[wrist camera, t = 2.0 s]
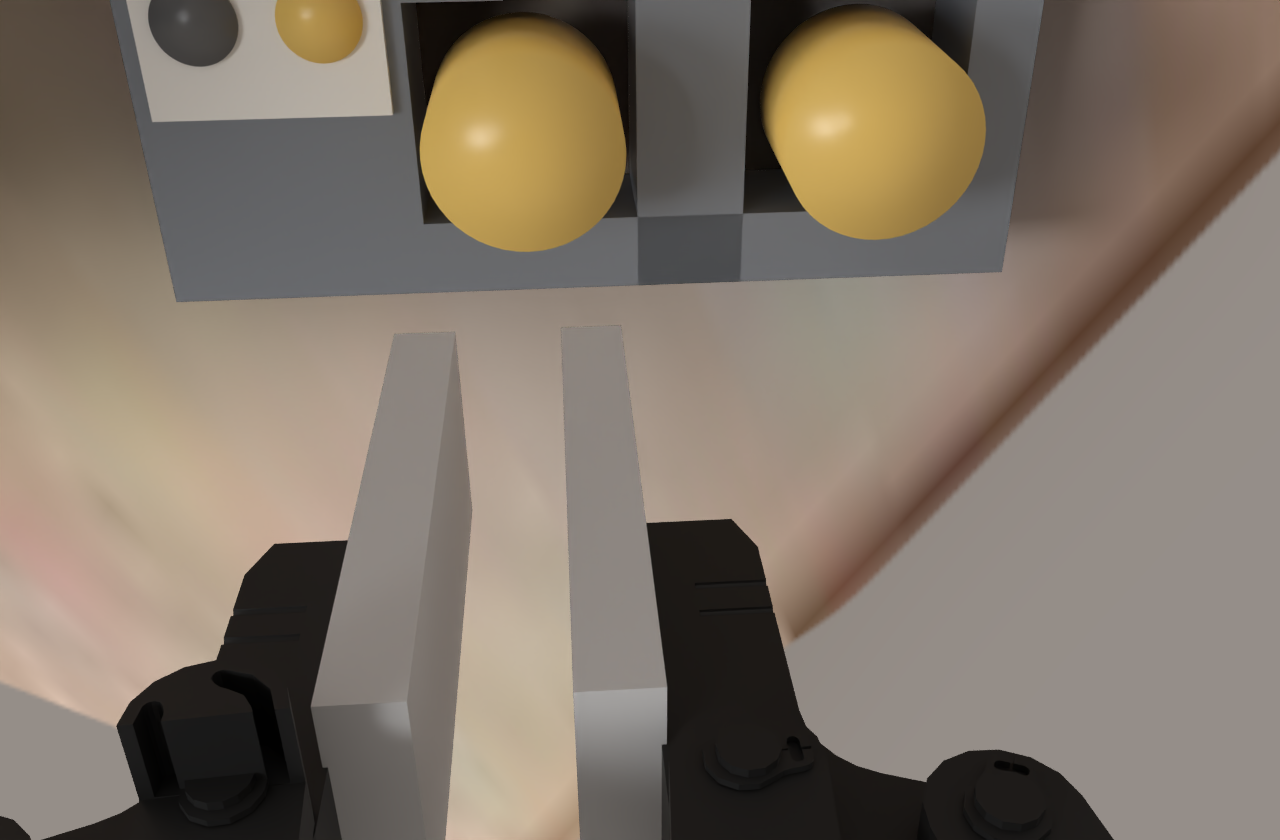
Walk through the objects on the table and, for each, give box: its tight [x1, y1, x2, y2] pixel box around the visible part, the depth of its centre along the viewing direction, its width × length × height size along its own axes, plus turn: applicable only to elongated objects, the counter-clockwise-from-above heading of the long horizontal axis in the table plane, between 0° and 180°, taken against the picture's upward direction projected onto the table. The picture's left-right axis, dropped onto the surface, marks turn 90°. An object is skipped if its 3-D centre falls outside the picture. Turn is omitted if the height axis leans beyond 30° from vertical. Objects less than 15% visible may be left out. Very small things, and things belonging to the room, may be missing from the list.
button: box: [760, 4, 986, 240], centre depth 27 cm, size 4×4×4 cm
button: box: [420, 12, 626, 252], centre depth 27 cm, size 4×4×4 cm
